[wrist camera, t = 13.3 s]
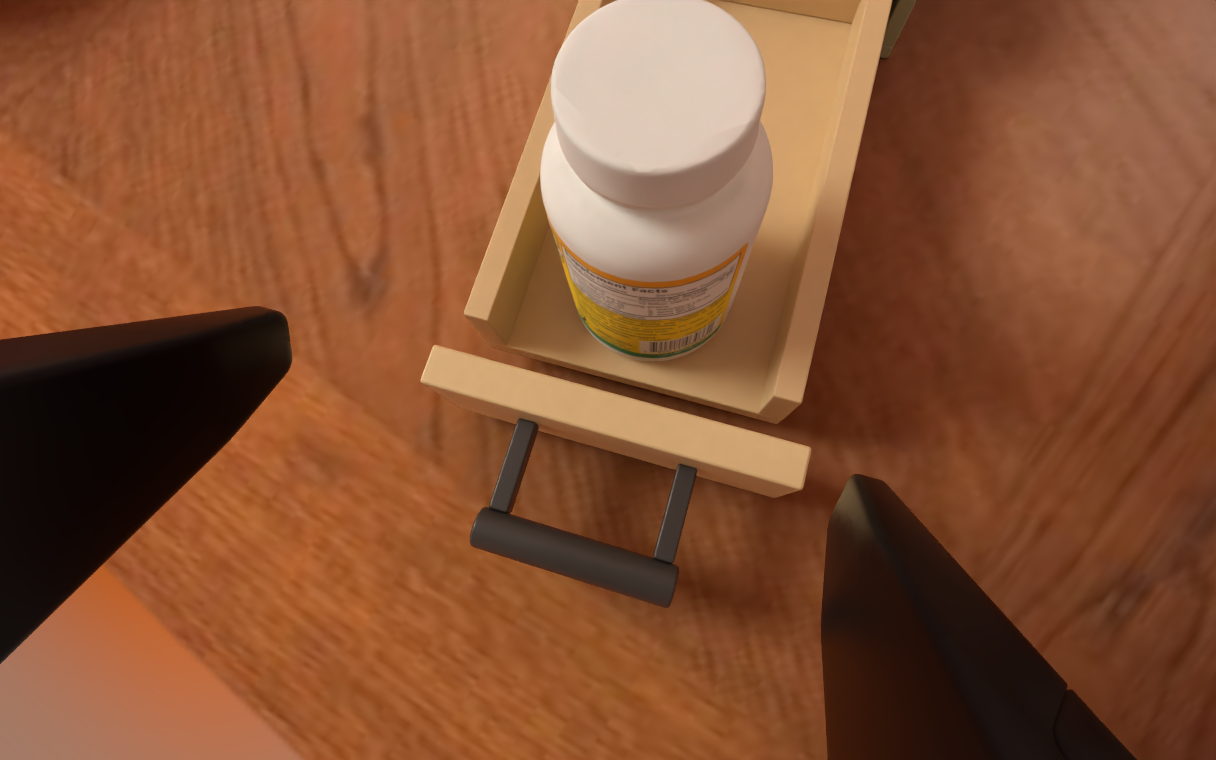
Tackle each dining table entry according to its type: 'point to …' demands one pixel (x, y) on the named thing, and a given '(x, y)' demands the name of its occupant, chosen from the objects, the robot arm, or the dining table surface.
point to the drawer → (723, 367)
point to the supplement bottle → (656, 171)
